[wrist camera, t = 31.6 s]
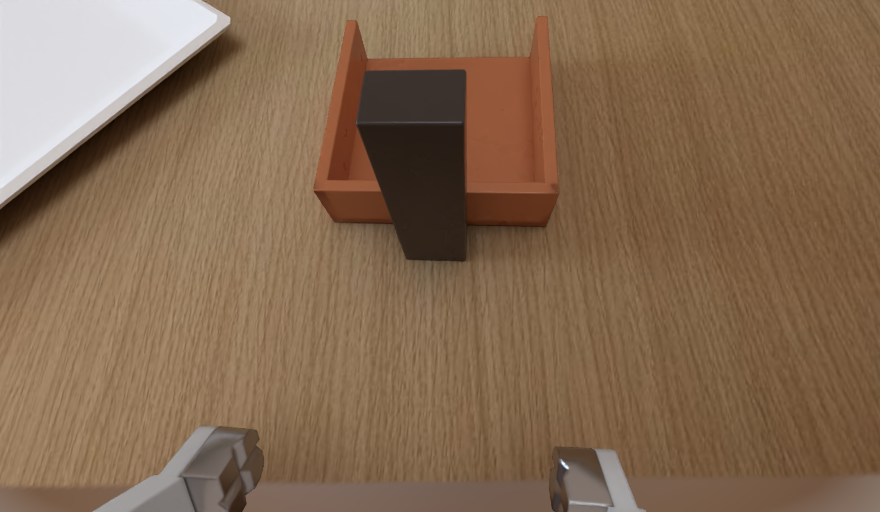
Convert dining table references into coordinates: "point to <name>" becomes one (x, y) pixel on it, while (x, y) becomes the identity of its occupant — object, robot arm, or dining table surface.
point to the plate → (84, 71)
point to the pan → (440, 144)
